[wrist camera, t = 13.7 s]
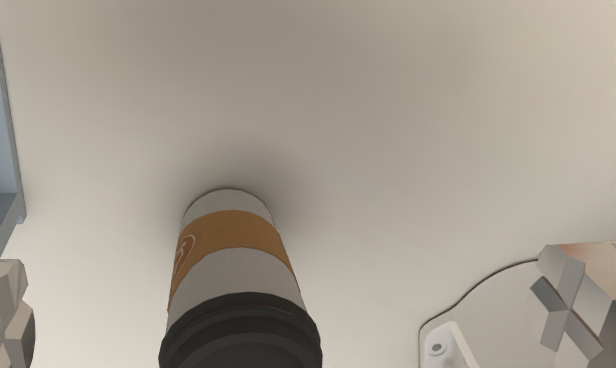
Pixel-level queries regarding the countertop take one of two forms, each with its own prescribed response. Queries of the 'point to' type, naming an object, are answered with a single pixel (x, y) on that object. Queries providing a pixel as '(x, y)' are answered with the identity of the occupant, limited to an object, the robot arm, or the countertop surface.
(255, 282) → the coffee cup
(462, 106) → the countertop surface
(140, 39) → the countertop surface
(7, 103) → the shelf stand
